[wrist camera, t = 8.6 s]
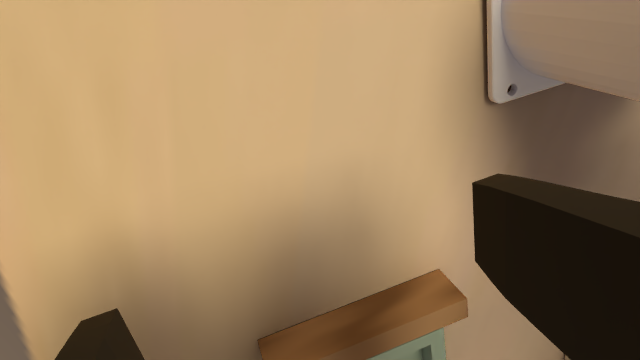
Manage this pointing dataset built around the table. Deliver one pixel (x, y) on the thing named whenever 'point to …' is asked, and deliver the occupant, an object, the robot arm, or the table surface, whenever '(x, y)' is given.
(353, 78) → the table surface
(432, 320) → the rail
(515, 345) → the table surface
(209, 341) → the table surface
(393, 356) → the tray
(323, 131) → the table surface
